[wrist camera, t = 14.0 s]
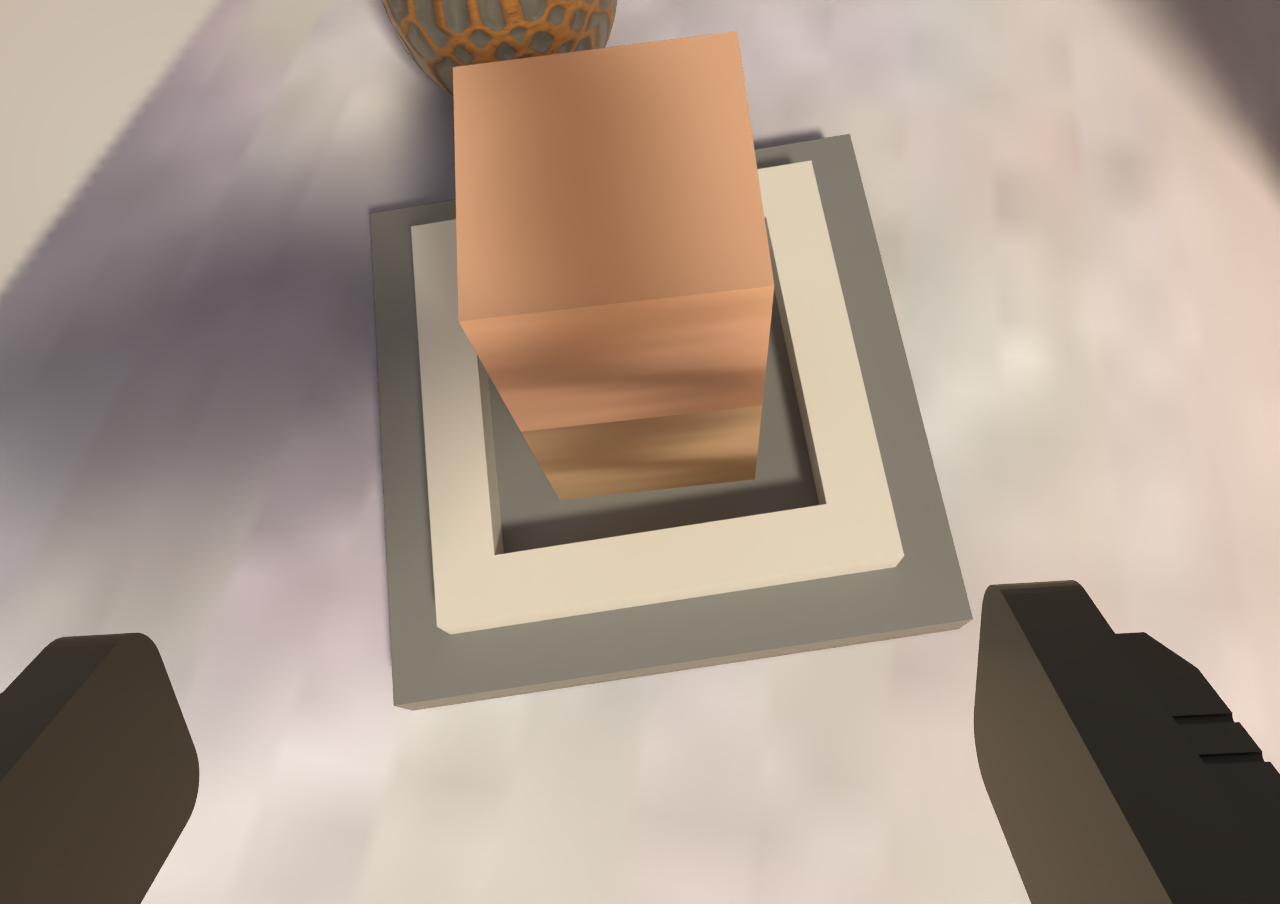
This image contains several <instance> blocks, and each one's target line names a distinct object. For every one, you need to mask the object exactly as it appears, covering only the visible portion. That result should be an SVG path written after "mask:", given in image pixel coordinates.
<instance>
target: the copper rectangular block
mask: <svg viewBox="0 0 1280 904" xmlns="http://www.w3.org/2000/svg"><path fill="white" fill-rule="evenodd" d="M453 94H454V140H455V186H456V232H457V277H458V322H459V323H460V325H461V327H462V329H463V330H464V332H465V334H466V336H467V337H468V339H469V341H470V343H471V345H472V346H473V348H474V350H475V352H476V353H477V355H478V357H479V359H480V360H481V362H482V364H483V366H484V367H485V369H486V371H487V373H488V375H489V376H490V378H491V380H492V382H493V383H494V385H495V387H496V389H497V390H498V392H499V394H500V396H501V398H502V399H503V401H504V403H505V405H506V406H507V408H508V410H509V412H510V413H511V415H512V417H513V419H514V420H515V422H516V424H517V426H518V428H519V429H520V431H521V433H522V435H523V436H524V438H525V440H526V442H527V443H528V445H529V447H530V449H531V451H532V452H533V454H534V456H535V458H536V459H537V461H538V463H539V465H540V466H541V468H542V470H543V472H544V473H545V475H546V477H547V479H548V481H549V482H550V484H551V486H552V488H553V489H554V491H555V493H556V495H557V496H558V498H559V500H563V499H573V498H582V497H592V496H602V495H611V494H621V493H631V492H640V491H650V490H660V489H669V488H679V487H689V486H698V485H708V484H717V483H727V482H737V481H746V480H755V473H756V464H757V454H758V444H759V434H760V424H761V414H762V404H763V394H764V384H765V374H766V364H767V354H768V344H769V334H770V324H771V314H772V305H773V295H774V280H773V273H772V266H771V259H770V252H769V245H768V239H767V232H766V225H765V218H764V211H763V204H762V198H761V191H760V184H759V177H758V170H757V164H756V157H755V150H754V143H753V136H752V129H751V123H750V116H749V109H748V102H747V95H746V88H745V82H744V75H743V68H742V61H741V54H740V48H739V41H738V34H737V31H735V32H727V33H719V34H711V35H703V36H695V37H687V38H679V39H671V40H664V41H656V42H648V43H640V44H632V45H624V46H616V47H608V48H600V49H592V50H585V51H577V52H569V53H561V54H553V55H545V56H537V57H529V58H521V59H513V60H506V61H498V62H490V63H482V64H474V65H466V66H458V67H453Z"/></svg>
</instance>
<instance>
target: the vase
mask: <svg viewBox="0 0 1280 904" xmlns="http://www.w3.org/2000/svg"><path fill="white" fill-rule="evenodd" d="M382 2H383V4H384V7H385V10H386V12H387V15H388V17H389V19H390V21H391V23H392V25H393V27H394V29H395V31H396V33H397V35H398V37H399V38H400V40H401V42H402V44H403V45H404V47H405V49H406V50H407V52H408V53H409V54H410V55H411V57H412V58H413V59H414V60H415V62H416V63H417V64H418V65H419V67H420V68H421V69H422V70H423V71H424V72H425V73H426V74H427V75H428V76H429V77H430V78H431V79H432V80H433V81H435V82H436V83H437V84H438V85H439V86H441V87H442V88H443V89H445V90H446V91H448V92H449V93H450V94H452V95H454V94H453V67H458V66H466V65H474V64H482V63H490V62H498V61H506V60H513V59H521V58H529V57H537V56H545V55H553V54H561V53H569V52H577V51H585V50H592V49H600V48H605V46H606V43H607V41H608V39H609V36H610V33H611V29H612V26H613V22H614V18H615V13H616V6H617V0H382Z"/></svg>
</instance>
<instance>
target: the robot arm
mask: <svg viewBox="0 0 1280 904" xmlns="http://www.w3.org/2000/svg"><path fill="white" fill-rule="evenodd" d="M974 736H975V745H976V752H977V757H978V763H979V767H980V771H981V775H982V778H983V782H984V784H985V787H986V790H987V792H988V795H989V797H990V800H991V803H992V805H993V808H994V810H995V813H996V815H997V818H998V820H999V823H1000V825H1001V828H1002V830H1003V833H1004V835H1005V838H1006V841H1007V843H1008V846H1009V848H1010V851H1011V853H1012V856H1013V858H1014V861H1015V863H1016V866H1017V868H1018V871H1019V873H1020V876H1021V878H1022V881H1023V884H1024V886H1025V889H1026V891H1027V894H1028V896H1029V899H1030V901H1031V904H1280V774H1279V773H1278V771H1277V770H1276V769H1275V767H1274V766H1273V765H1272V764H1271V762H1264V760H1263V757H1262V751H1261V749H1260V748H1259V747H1258V746H1257V744H1256V743H1255V742H1254V740H1253V739H1252V738H1251V737H1250V735H1249V734H1248V733H1247V731H1246V730H1245V729H1244V728H1243V726H1242V725H1241V724H1240V722H1236V723H1234V721H1233V718H1232V712H1231V711H1230V709H1229V708H1228V707H1227V706H1226V704H1225V703H1224V702H1223V700H1222V699H1221V698H1220V697H1219V695H1218V694H1217V693H1216V691H1215V690H1214V689H1213V688H1212V686H1211V685H1210V684H1209V682H1208V681H1207V680H1206V679H1205V677H1204V676H1203V675H1202V673H1201V672H1200V671H1199V670H1198V668H1196V667H1195V666H1193V665H1192V664H1190V663H1189V662H1187V661H1186V660H1185V659H1183V658H1182V657H1180V656H1179V655H1177V654H1176V653H1174V652H1173V651H1171V650H1170V649H1168V648H1167V647H1165V646H1164V645H1162V644H1161V643H1159V642H1158V641H1156V640H1155V639H1154V638H1152V637H1151V636H1149V635H1148V634H1146V633H1145V632H1141V633H1123V634H1115V633H1114V632H1113V630H1112V629H1111V627H1110V626H1109V624H1108V623H1107V621H1106V620H1105V619H1104V617H1103V616H1102V614H1101V613H1100V611H1099V610H1098V608H1097V607H1096V605H1095V604H1094V603H1093V601H1092V600H1091V598H1090V597H1089V595H1088V594H1087V592H1086V591H1085V590H1084V588H1083V587H1082V586H1081V585H1080V584H1079V583H1078V582H1076V581H1074V580H1067V581H1050V582H1033V583H1016V584H999V585H990V586H989V587H988V588H987V589H986V591H985V594H984V598H983V604H982V614H981V627H980V641H979V654H978V667H977V680H976V693H975V706H974ZM198 787H199V762H198V757H197V753H196V750H195V747H194V744H193V741H192V739H191V736H190V733H189V731H188V728H187V725H186V723H185V720H184V717H183V715H182V712H181V709H180V707H179V704H178V701H177V698H176V696H175V693H174V690H173V688H172V685H171V682H170V680H169V677H168V674H167V672H166V669H165V666H164V664H163V661H162V658H161V656H160V653H159V651H158V649H157V647H156V645H155V644H154V642H153V641H152V640H151V639H150V638H149V637H148V636H146V635H144V634H141V633H125V634H108V635H91V636H74V637H62V638H59V639H56V640H54V641H53V642H51V643H50V644H49V645H48V646H46V647H45V648H44V649H43V650H42V651H41V653H40V654H39V655H38V656H37V657H36V658H35V659H34V660H33V661H32V662H31V663H30V664H29V665H28V666H27V667H26V668H25V669H24V670H23V672H22V673H21V674H20V675H19V676H18V677H17V678H16V679H15V680H14V681H13V682H12V683H11V684H10V685H9V686H8V687H7V688H6V690H5V691H4V692H3V693H1V694H0V904H141V902H142V900H143V898H144V897H145V895H146V893H147V891H148V890H149V888H150V886H151V884H152V883H153V881H154V879H155V878H156V876H157V874H158V872H159V871H160V869H161V867H162V865H163V864H164V862H165V860H166V858H167V857H168V855H169V853H170V852H171V850H172V848H173V846H174V845H175V843H176V841H177V839H178V838H179V836H180V834H181V832H182V831H183V829H184V827H185V826H186V824H187V822H188V820H189V818H190V816H191V814H192V811H193V809H194V806H195V802H196V798H197V793H198Z"/></svg>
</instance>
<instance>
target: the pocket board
mask: <svg viewBox="0 0 1280 904" xmlns="http://www.w3.org/2000/svg"><path fill="white" fill-rule="evenodd" d="M755 157H756V164H757V170H758V177H759V184H760V191H761V198H762V204H763V211H764V218H765V225H766V232H767V239H768V245H769V252H770V259H771V266H772V273H773V280H774V295H773V305H772V314H771V324H770V334H769V344H768V354H767V364H766V374H765V384H764V394H763V404H762V414H761V424H760V434H759V444H758V454H757V464H756V473H755V480H746V481H737V482H727V483H717V484H708V485H698V486H689V487H679V488H669V489H660V490H650V491H640V492H631V493H621V494H611V495H602V496H592V497H582V498H573V499H563V500H559V498H558V496H557V495H556V493H555V491H554V489H553V488H552V486H551V484H550V482H549V481H548V479H547V477H546V475H545V473H544V472H543V470H542V468H541V466H540V465H539V463H538V461H537V459H536V458H535V456H534V454H533V452H532V451H531V449H530V447H529V445H528V443H527V442H526V440H525V438H524V436H523V435H522V433H521V431H520V429H519V428H518V426H517V424H516V422H515V420H514V419H513V417H512V415H511V413H510V412H509V410H508V408H507V406H506V405H505V403H504V401H503V399H502V398H501V396H500V394H499V392H498V390H497V389H496V387H495V385H494V383H493V382H492V380H491V378H490V376H489V375H488V373H487V371H486V369H485V367H484V366H483V364H482V362H481V360H480V359H479V357H478V355H477V353H476V352H475V350H474V348H473V346H472V345H471V343H470V341H469V339H468V337H467V336H466V334H465V332H464V330H463V329H462V327H461V325H460V323H459V322H458V277H457V232H456V199H455V200H449V201H443V202H437V203H431V204H425V205H418V206H412V207H406V208H400V209H394V210H388V211H382V212H376V213H370V222H371V243H372V264H373V284H374V305H375V326H376V346H377V367H378V388H379V409H380V429H381V450H382V471H383V492H384V512H385V533H386V554H387V575H388V595H389V616H390V637H391V658H392V678H393V699H394V706H397V707H401V708H405V709H409V710H419V709H425V708H432V707H439V706H445V705H452V704H459V703H466V702H472V701H479V700H486V699H492V698H499V697H506V696H512V695H519V694H526V693H533V692H539V691H546V690H553V689H559V688H566V687H573V686H580V685H586V684H593V683H600V682H606V681H613V680H620V679H626V678H633V677H640V676H647V675H653V674H660V673H667V672H673V671H680V670H687V669H693V668H700V667H707V666H714V665H720V664H727V663H734V662H740V661H747V660H754V659H760V658H767V657H774V656H781V655H787V654H794V653H801V652H807V651H814V650H821V649H827V648H834V647H841V646H848V645H854V644H861V643H868V642H874V641H881V640H888V639H895V638H901V637H908V636H915V635H921V634H928V633H935V632H941V631H948V630H955V629H959V628H961V627H962V626H963V625H965V624H966V623H968V622H969V621H971V620H972V619H973V618H972V614H971V610H970V606H969V602H968V598H967V594H966V590H965V586H964V582H963V578H962V574H961V570H960V566H959V563H958V559H957V555H956V551H955V547H954V543H953V539H952V535H951V531H950V527H949V523H948V519H947V515H946V511H945V507H944V503H943V500H942V496H941V492H940V488H939V484H938V480H937V476H936V472H935V468H934V464H933V460H932V456H931V452H930V448H929V444H928V440H927V437H926V433H925V429H924V425H923V421H922V417H921V413H920V409H919V405H918V401H917V397H916V393H915V389H914V385H913V381H912V377H911V374H910V370H909V366H908V362H907V358H906V354H905V350H904V346H903V342H902V338H901V334H900V330H899V326H898V322H897V318H896V314H895V310H894V307H893V303H892V299H891V295H890V291H889V287H888V283H887V279H886V275H885V271H884V267H883V263H882V259H881V255H880V251H879V247H878V244H877V240H876V236H875V232H874V228H873V224H872V220H871V216H870V212H869V208H868V204H867V200H866V196H865V192H864V188H863V184H862V181H861V177H860V173H859V169H858V165H857V161H856V157H855V153H854V149H853V145H852V141H851V137H850V134H846V135H840V136H834V137H828V138H822V139H816V140H810V141H804V142H798V143H792V144H786V145H780V146H774V147H768V148H762V149H756V150H755Z"/></svg>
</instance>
